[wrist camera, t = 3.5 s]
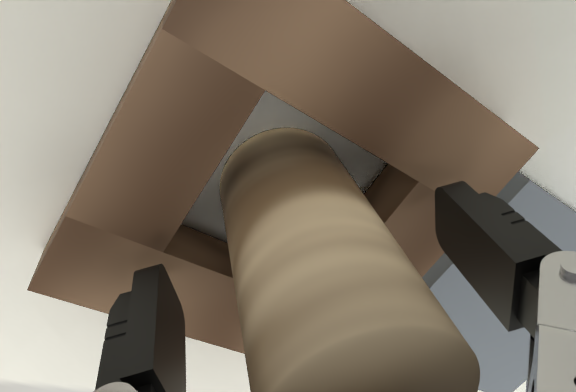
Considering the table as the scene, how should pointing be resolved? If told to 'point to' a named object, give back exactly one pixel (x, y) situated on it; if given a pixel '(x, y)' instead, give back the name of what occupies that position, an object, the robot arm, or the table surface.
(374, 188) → the pocket block
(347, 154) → the table surface
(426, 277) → the mat
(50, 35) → the table surface
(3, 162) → the table surface
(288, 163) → the peg
